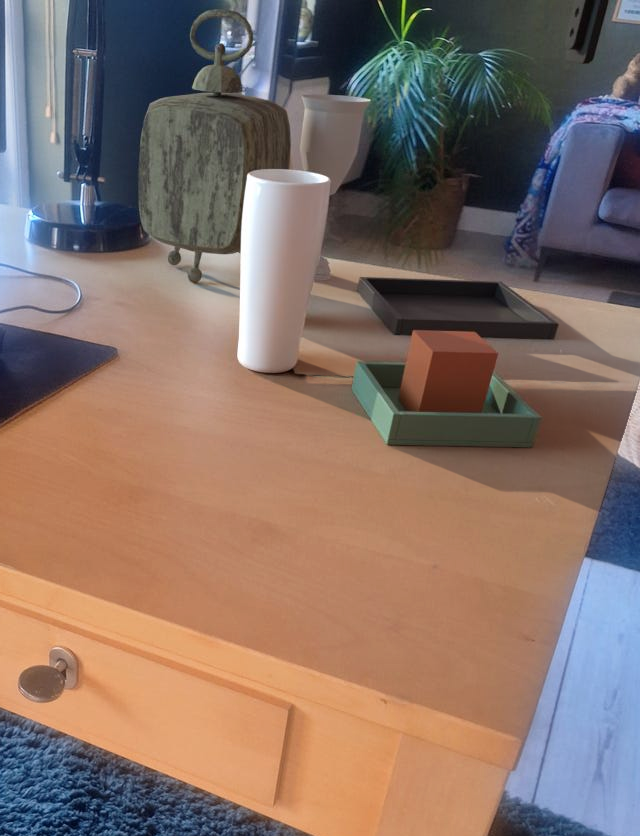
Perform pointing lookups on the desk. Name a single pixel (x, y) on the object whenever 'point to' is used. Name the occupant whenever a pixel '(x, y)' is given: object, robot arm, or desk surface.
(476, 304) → the pan
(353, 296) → the desk surface
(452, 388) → the block
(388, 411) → the tray
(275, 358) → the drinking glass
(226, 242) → the tabletop clock
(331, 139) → the chalice
